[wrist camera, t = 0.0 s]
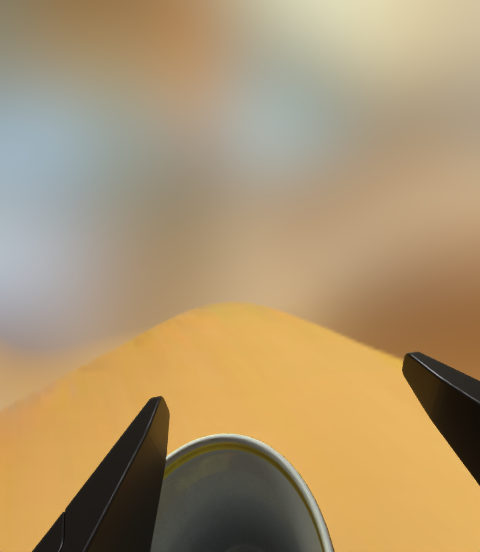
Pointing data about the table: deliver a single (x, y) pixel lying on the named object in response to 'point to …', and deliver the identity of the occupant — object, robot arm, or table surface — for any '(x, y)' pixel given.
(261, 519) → the ceramic cup
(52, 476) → the table surface
